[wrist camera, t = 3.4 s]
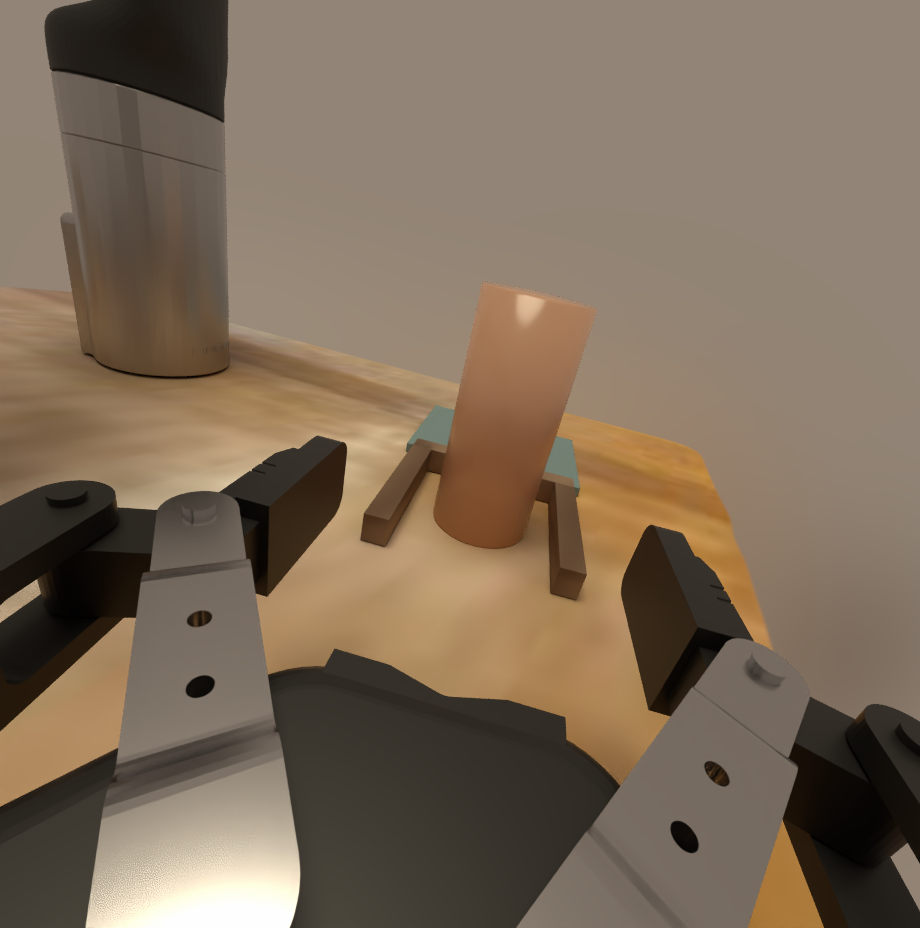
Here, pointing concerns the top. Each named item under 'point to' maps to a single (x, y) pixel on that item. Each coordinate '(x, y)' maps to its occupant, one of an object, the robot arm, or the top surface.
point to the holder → (553, 489)
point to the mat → (439, 431)
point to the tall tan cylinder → (508, 411)
